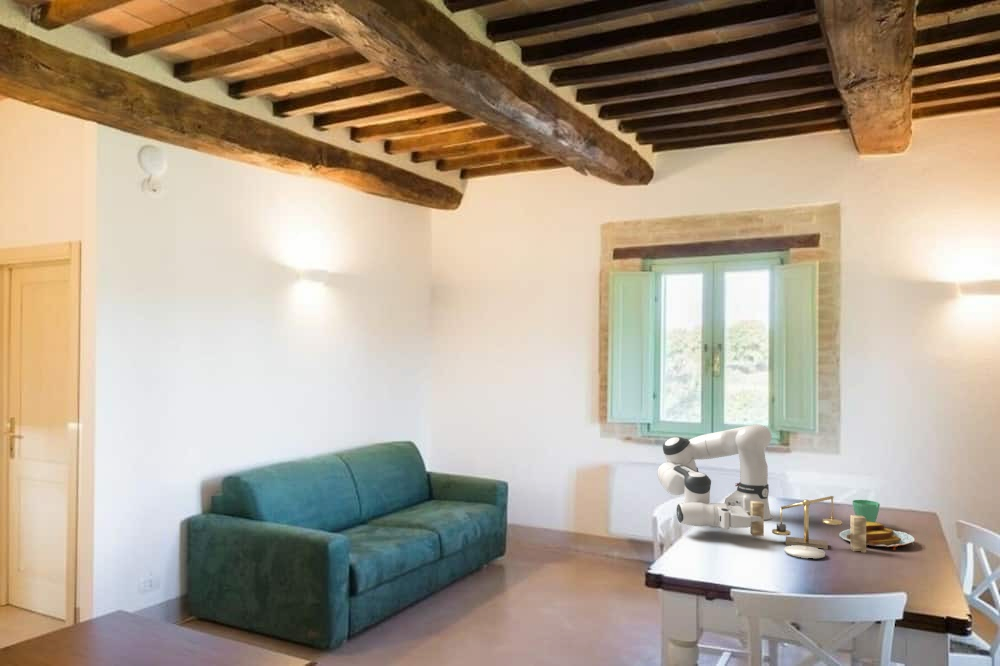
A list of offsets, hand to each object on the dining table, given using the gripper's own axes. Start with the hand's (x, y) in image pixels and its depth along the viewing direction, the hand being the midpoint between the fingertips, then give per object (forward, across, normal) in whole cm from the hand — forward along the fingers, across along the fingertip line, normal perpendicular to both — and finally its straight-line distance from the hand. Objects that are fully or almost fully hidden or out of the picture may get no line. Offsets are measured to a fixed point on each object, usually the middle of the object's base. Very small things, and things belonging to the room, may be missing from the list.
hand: (759, 516), depth 267 cm
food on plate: (+43, -6, -9) cm, 44 cm away
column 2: (+32, +8, -9) cm, 34 cm away
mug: (+48, -32, -9) cm, 59 cm away
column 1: (-1, 0, -7) cm, 7 cm away
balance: (+16, +4, -9) cm, 18 cm away
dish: (+12, +18, -9) cm, 23 cm away
